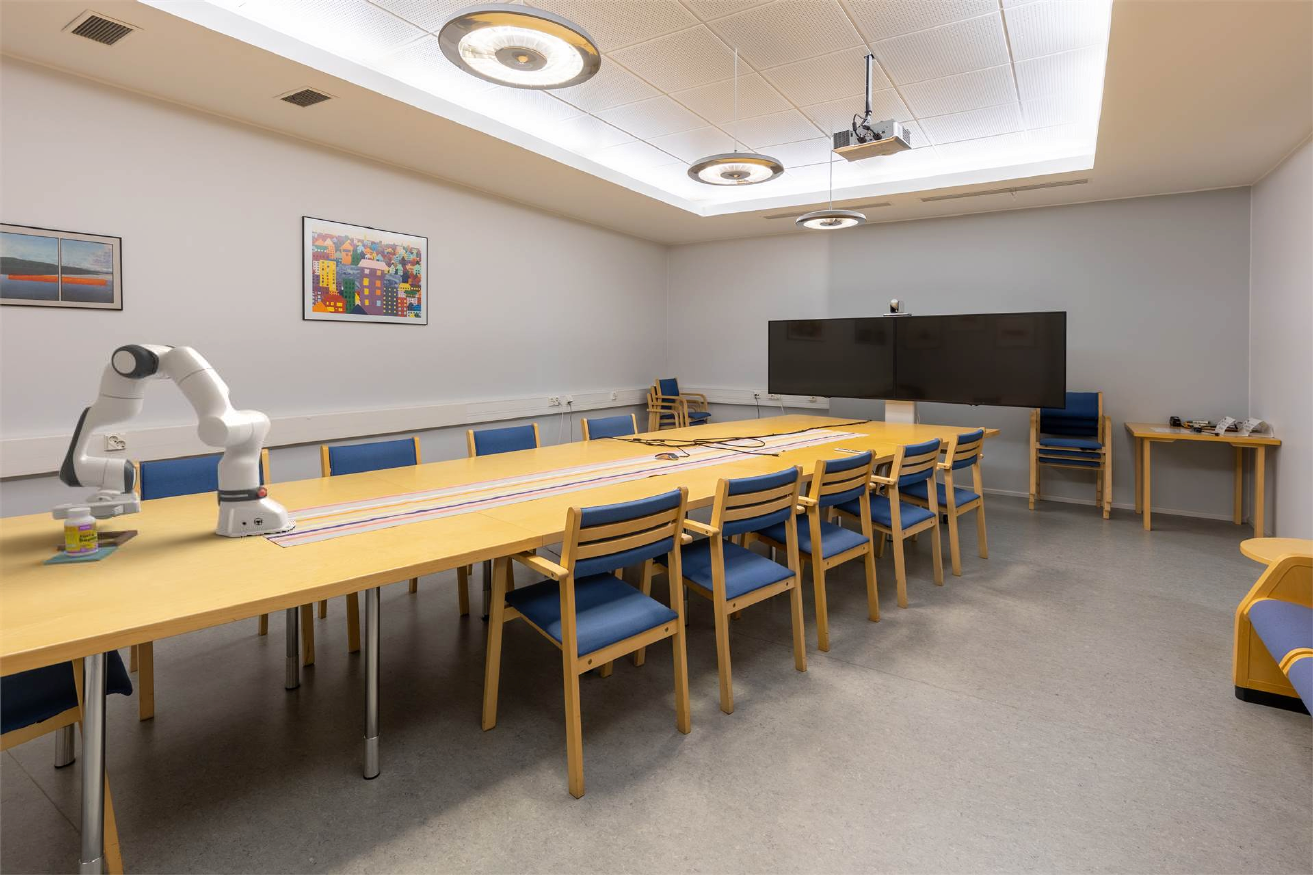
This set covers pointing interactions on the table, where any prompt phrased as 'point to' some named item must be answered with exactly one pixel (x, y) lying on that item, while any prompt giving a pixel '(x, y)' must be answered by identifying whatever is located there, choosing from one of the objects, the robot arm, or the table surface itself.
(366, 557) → the table surface
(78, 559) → the teal mat
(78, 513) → the supplement bottle
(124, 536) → the brown wooden square frame
